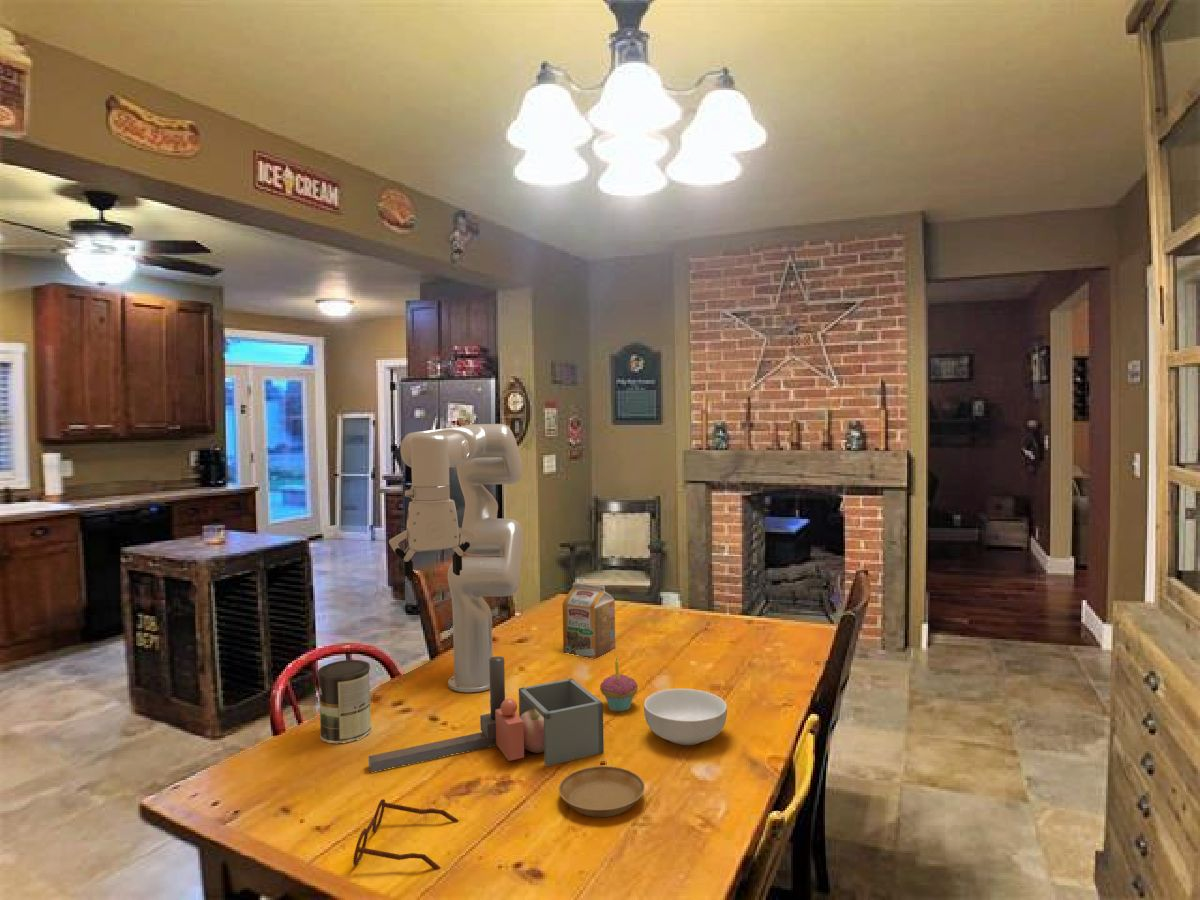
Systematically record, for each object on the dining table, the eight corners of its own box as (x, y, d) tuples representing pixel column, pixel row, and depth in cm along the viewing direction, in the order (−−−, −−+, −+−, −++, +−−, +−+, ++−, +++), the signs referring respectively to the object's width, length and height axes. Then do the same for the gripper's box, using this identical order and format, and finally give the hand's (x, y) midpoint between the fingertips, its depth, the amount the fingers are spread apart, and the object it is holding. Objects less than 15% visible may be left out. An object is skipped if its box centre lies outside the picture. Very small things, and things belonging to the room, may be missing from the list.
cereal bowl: (673, 763, 138) (672, 726, 137) (629, 730, 152) (628, 697, 152) (744, 743, 146) (744, 708, 145) (696, 714, 160) (696, 682, 160)
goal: (519, 735, 151) (518, 688, 150) (572, 724, 156) (571, 678, 155) (546, 766, 137) (545, 714, 137) (603, 752, 142) (602, 702, 142)
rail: (368, 766, 138) (368, 756, 138) (504, 737, 150) (504, 727, 150) (371, 773, 136) (370, 762, 136) (509, 742, 148) (508, 733, 147)
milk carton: (615, 649, 206) (614, 582, 205) (595, 659, 197) (594, 590, 196) (584, 643, 212) (583, 578, 211) (563, 653, 203) (562, 586, 202)
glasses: (379, 823, 120) (379, 793, 119) (459, 823, 119) (458, 793, 119) (351, 873, 106) (350, 840, 106) (440, 873, 106) (439, 840, 106)
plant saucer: (578, 833, 115) (578, 817, 115) (546, 790, 129) (546, 776, 129) (660, 812, 121) (660, 796, 121) (622, 773, 135) (621, 759, 135)
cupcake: (634, 716, 160) (633, 662, 159) (596, 713, 161) (595, 660, 161) (640, 701, 168) (639, 649, 168) (604, 698, 170) (603, 648, 169)
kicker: (480, 735, 149) (478, 657, 148) (508, 729, 152) (506, 653, 151) (501, 762, 137) (499, 678, 136) (531, 755, 140) (529, 673, 139)
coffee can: (313, 745, 148) (311, 677, 147) (328, 724, 158) (325, 660, 157) (365, 743, 149) (363, 675, 148) (376, 722, 159) (374, 658, 158)
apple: (508, 754, 142) (507, 714, 142) (530, 739, 149) (530, 700, 149) (542, 763, 139) (542, 722, 138) (563, 747, 145) (563, 707, 145)
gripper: (391, 498, 142) (394, 585, 143) (477, 493, 150) (479, 575, 151) (384, 495, 149) (387, 578, 150) (467, 490, 157) (469, 569, 157)
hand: (433, 576), depth 150 cm, fingers open, 9 cm apart
